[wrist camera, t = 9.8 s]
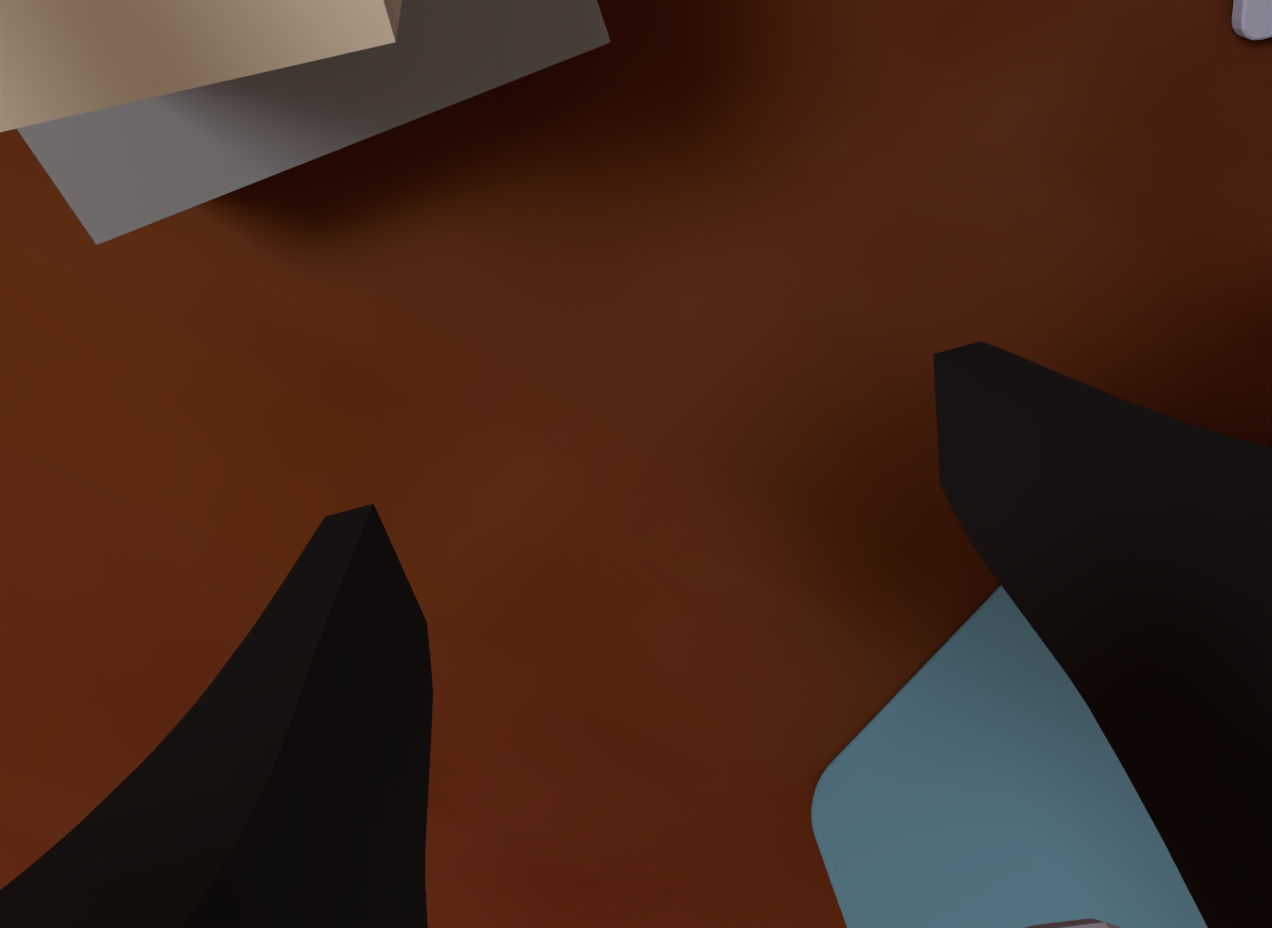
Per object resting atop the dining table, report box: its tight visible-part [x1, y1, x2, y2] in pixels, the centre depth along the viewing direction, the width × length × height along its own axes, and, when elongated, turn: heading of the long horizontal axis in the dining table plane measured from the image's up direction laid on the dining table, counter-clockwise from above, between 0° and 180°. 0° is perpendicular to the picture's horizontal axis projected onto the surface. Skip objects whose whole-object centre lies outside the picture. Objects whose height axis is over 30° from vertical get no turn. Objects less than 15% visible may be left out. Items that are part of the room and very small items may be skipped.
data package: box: [812, 585, 1207, 928], centre depth 27 cm, size 12×4×12 cm, turn 147°
